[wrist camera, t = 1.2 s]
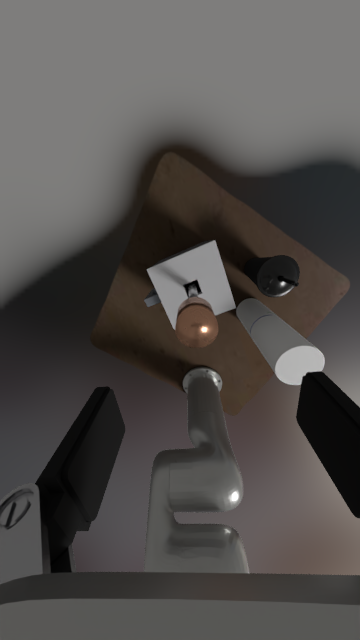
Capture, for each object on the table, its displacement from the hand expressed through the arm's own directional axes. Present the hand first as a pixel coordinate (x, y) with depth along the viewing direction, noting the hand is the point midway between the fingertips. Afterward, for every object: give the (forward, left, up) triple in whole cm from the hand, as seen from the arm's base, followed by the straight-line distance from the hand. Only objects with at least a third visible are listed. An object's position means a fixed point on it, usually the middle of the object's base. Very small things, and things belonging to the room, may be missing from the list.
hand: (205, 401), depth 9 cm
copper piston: (0, 0, -32) cm, 32 cm away
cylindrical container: (-6, -18, -42) cm, 46 cm away
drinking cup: (+5, -15, -42) cm, 45 cm away
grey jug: (-1, +2, -42) cm, 42 cm away
